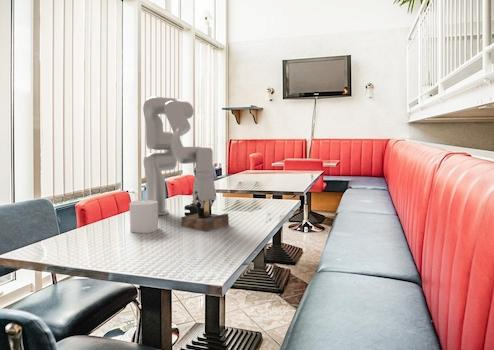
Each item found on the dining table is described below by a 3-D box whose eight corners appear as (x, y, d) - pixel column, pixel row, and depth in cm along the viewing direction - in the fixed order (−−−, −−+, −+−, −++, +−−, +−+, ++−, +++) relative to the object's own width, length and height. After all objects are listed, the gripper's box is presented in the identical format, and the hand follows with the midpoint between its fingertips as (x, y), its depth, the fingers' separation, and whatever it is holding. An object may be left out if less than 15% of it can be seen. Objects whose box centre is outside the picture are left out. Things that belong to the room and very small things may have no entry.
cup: (163, 227, 169) (162, 201, 168) (148, 234, 158) (147, 205, 157) (140, 225, 173) (140, 199, 172) (124, 231, 162) (123, 203, 161)
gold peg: (198, 221, 172) (198, 199, 171) (205, 219, 176) (204, 198, 175) (204, 222, 170) (204, 200, 169) (211, 221, 173) (211, 199, 172)
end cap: (197, 219, 186) (196, 206, 185) (184, 218, 188) (183, 205, 187) (206, 215, 195) (206, 202, 194) (193, 214, 197) (193, 201, 197)
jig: (181, 225, 173) (181, 214, 172) (203, 220, 183) (203, 209, 183) (206, 231, 163) (206, 219, 162) (228, 225, 173) (228, 214, 173)
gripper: (211, 173, 179) (211, 211, 181) (184, 176, 167) (185, 217, 168) (223, 174, 175) (223, 213, 177) (196, 177, 162) (196, 220, 164)
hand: (204, 215), depth 173 cm, fingers closed on gold peg, 4 cm apart
